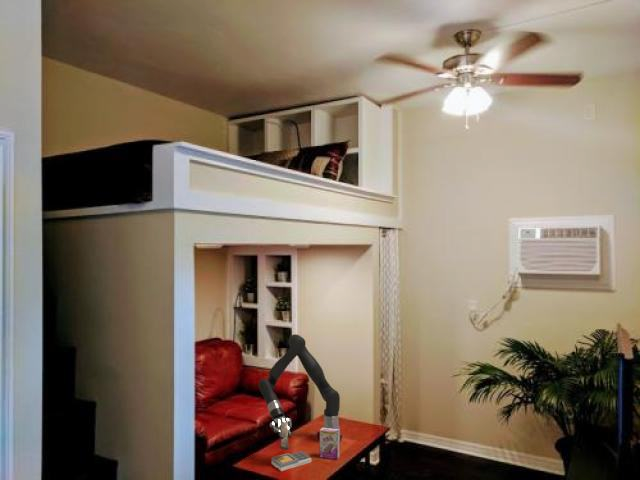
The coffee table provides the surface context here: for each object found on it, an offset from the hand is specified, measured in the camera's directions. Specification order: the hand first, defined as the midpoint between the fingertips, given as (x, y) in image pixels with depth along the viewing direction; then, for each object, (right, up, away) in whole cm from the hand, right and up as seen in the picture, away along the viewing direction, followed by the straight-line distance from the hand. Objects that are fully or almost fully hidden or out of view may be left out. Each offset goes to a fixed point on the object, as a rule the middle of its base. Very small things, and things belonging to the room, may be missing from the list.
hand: (286, 437), depth 278 cm
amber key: (-1, -14, +1) cm, 14 cm away
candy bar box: (+25, -16, +11) cm, 32 cm away
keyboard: (+3, -16, +4) cm, 17 cm away
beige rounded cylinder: (-1, -7, +2) cm, 7 cm away
